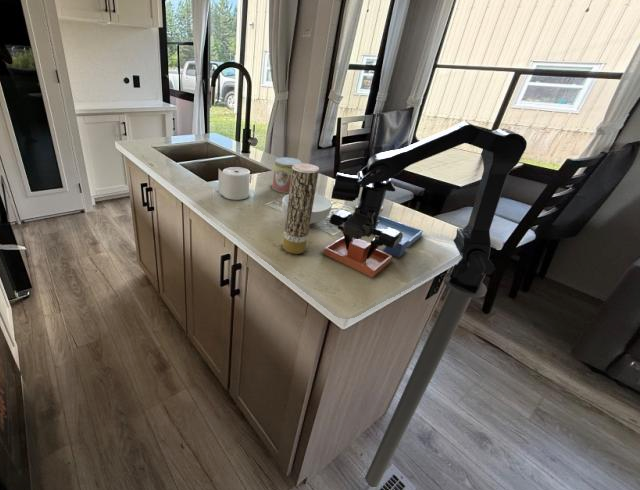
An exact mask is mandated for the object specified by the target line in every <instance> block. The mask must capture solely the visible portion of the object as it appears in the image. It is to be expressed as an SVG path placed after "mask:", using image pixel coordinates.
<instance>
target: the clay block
mask: <svg viewBox="0 0 640 490" xmlns="http://www.w3.org/2000/svg"><path fill="white" fill-rule="evenodd" d="M370 246H371V242H369V241H366V240H363V239H362V238H360V239H355V238H354V239H353V241H352V242H350V244H349V248H348V252H347V256H348V257H350V258H353V259H355V260H357V261H359V262H362V261H363V260H364V259H366V258H367V254H368V251H369V249H370Z"/></svg>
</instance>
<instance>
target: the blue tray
mask: <svg viewBox="0 0 640 490" xmlns="http://www.w3.org/2000/svg"><path fill="white" fill-rule="evenodd" d="M378 221H379V224H378V225H377V226H376V228H379V229H382V230H385V229H387V228H388V227H390V228H392V229H395V230H398V231H401V232H402V235H403V237H402V238H404V239H407V240H409V241H408V244H407V247H406V248H409V247H410V246H411V245H413V244H414V243H415V242H416V241H417V240H418V239H420V238H421V237H422V235H423V232H424V230H423V229H419V228H416V227H414V226H410V225H408V224H405V223H402V222H400V221H397V220H394V219H391V218H388V217H385V216H383V215H381V214H380V215H379V219H378Z"/></svg>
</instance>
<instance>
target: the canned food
mask: <svg viewBox="0 0 640 490" xmlns="http://www.w3.org/2000/svg"><path fill="white" fill-rule="evenodd" d="M297 163H303V161H302V160H301V159H299V158H296V157H289V156H281V157H276V158H275V159H274V167H273V177H272V185H271V188H272V189H273V190H274V191H276V192H279V193H283V194H289V191H290V183H291V175H292V167H293V165H294V164H297Z"/></svg>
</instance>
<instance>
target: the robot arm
mask: <svg viewBox="0 0 640 490" xmlns="http://www.w3.org/2000/svg"><path fill="white" fill-rule="evenodd" d="M463 144H467V145H470V146H474V147H476V148H479V149H481V150H482V155H481V156H482V164H483V165H482V166H483V170H482V171H483V172H482V174H481V178H480V181H479V184H478V188H477V191H476V195H475V199H474V203H473V206H472V209H471V213H470V217H469V220H468V223H467V224H466V226H465V227H463V228H460V227H457V228H456V234H455V238H454V239H453V243H454V244H455V247H456V249H457V251H458V253H459V255H460V256H461V258H460V260H459V261H457V262H456V263H455V264H454V266H453V268H452V270H451V272H452V273H451V275H450V277H451V279H450V280H449V282H450V283H452V284H454V285H457V286H459V287H461V288H464V289H466V290H468V291H471V292H473V293H477V291H478V289H479V288H480V286H481V285H482V283H483V281H484V279H485V277H486V275H488V276H490V275H491V274H492V273H493V272H495V271H496V269H497V268H496V267H495V265H494V264H493V263H492V261H491V259H490V256H491V249H492V247H491V246H492V242H491V234H490V233H491V231H490V230H491V227H492V224H493V220H494V217H495V215H496V211H497V208H498V206H499V205H498V204H499V202H500V200H501V196H502V193H503V190H504V187H505V184H506V181H507V179H508V175H509V173H511V171H513V169H514V168H515V167H516V166H517V165H518V164H519V163H520V161H521V159H522V157H523V156H524V153H525V151H526V149H527V147H528V145H527V144H528V143H527V140H526V138H525V137H524V135H521V134H519V133H517V132H515V131H513V130H510V129H508V128H497V129H495V130H493V129H490V128H486V127H483V126H478V125H475V124H472V123H471V122H468V121H462V122H459V123H457V124H456V125H454V126H451V127H450V128H447V129H445V130H442V131H440V132H438V133H435V134H433V135H430V136H429V137H426V138H424V139H421V140H419V141H417V142H415V143H413V144H409V145H408V146H405V147H403V148H399V149H392V150H387V151H383V152H379V153H375V154H374V155H371V157H370V158H369V159H368V161H367V164H366V166H363V168H362V169H361V170H360V171H358V172H357V173H356V175H353V174H352V175H350V174H344V173H341V172H337V173H336V175H335V179H334V182H333V185H332V186H333V187H332V192H331V197H330V198H331V199H333V200H337V201H345V202H351V203H352V202H353V201H357V198H358V196H359V192H360V188H361V187H363V189H362V193H361V197H360V201H359V205H358V206H357V207H356V208H355V209H354V212H353V213H351V212H349V211H346V210H343V209H339V210H338V211H336V212H333V213H332V214H331V215H330V217H329V224H330V225H333V226H335V227H337V230H340V231H341V233H342V235H343V236H344V238H345V244H346V249H347V250H348V248H349V244H350V242H352V240H355V239H362V238H364V237H367V238H369V237H371V235H374V238H373V239H372V240H370V243H371V246H370V249H369V251H368V254H367V259H369V258H370V257H371V255H372V254H373V253H374V252H375V250H376V249H377V250H378V248H379V247H383V246H385V247H386V246H387V247H390V248H393V247H395V246H396V245H397V244H398V243H400V242H401V240H402V237H403V235H402V232H401V231H398V230H395V229H392V228H390V227H388V228H387V229H385V230H382V229H379V228H376V226H377V225H378V224H379V221H378V219H379V215H380V216H381V212H382V211H384V207H383V205H384V200H385V197H386V193H387V192H392V193H393V192H396V187H395V185H394V184H393V182H392V178H394V177H395V176H398V175H400V173H402V172H403V171H404V170H405V169H407V168H408V167H410V166H411V165H414V164H416V163H419V162H423V161H425V160H427V159H429V158H431V157H434V156H436V155H439V154H441V153H443V152H447V151H448V150H451V149H454V148H456V147H459V146H461V145H463Z"/></svg>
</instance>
